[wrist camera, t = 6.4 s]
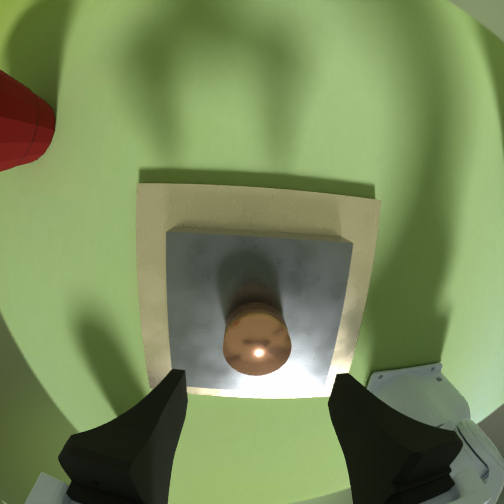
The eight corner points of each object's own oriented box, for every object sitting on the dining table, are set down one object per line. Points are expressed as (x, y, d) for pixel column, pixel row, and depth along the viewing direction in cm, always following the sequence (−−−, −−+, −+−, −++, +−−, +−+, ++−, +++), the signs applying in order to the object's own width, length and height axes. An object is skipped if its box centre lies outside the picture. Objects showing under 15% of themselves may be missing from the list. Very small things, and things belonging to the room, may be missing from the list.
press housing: (375, 199, 21) (397, 202, 17) (339, 388, 25) (349, 411, 21) (141, 183, 20) (123, 183, 17) (152, 381, 24) (142, 405, 21)
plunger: (281, 282, 22) (295, 320, 16) (276, 328, 23) (287, 376, 17) (229, 280, 22) (223, 317, 15) (227, 326, 23) (222, 374, 16)
